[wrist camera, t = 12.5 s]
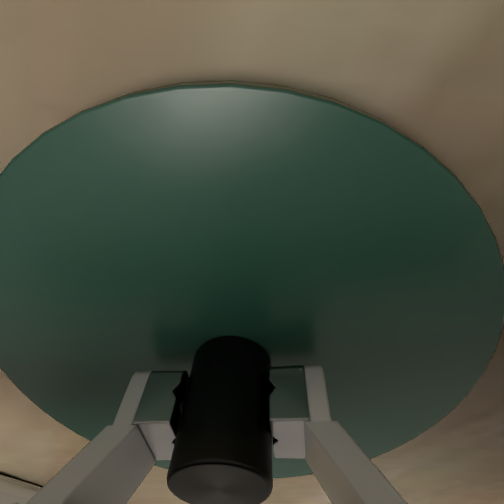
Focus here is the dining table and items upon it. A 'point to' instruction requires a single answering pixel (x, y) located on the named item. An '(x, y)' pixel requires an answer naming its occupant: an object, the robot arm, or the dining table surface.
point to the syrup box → (16, 491)
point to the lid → (242, 273)
